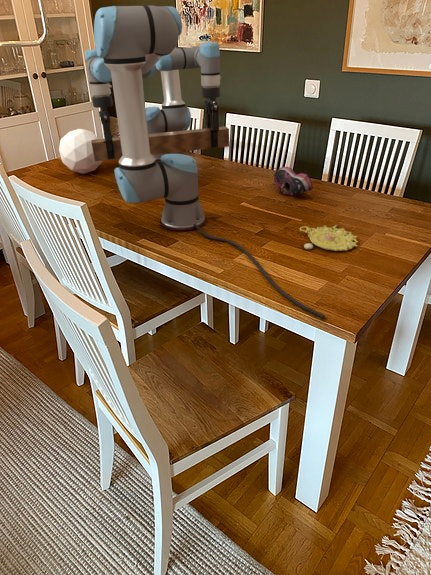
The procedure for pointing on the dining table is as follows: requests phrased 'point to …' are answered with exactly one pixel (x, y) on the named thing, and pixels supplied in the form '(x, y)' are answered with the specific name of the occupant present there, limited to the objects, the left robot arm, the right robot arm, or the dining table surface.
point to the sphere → (78, 151)
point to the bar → (167, 142)
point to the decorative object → (330, 238)
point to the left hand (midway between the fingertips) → (212, 145)
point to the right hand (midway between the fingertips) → (111, 156)
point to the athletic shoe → (292, 181)
